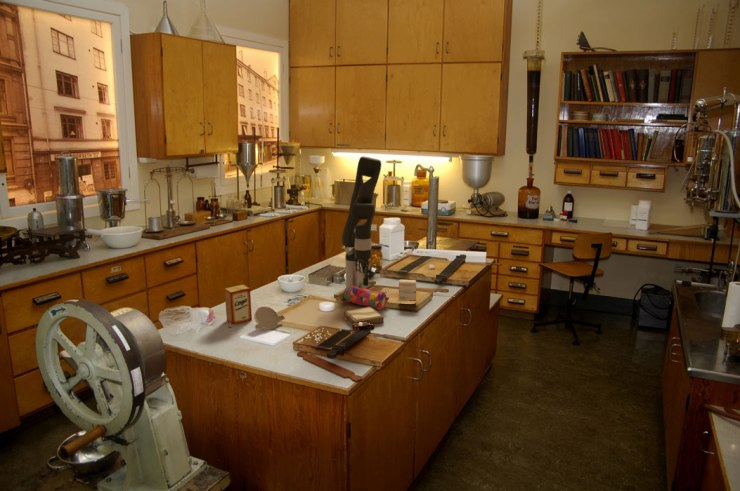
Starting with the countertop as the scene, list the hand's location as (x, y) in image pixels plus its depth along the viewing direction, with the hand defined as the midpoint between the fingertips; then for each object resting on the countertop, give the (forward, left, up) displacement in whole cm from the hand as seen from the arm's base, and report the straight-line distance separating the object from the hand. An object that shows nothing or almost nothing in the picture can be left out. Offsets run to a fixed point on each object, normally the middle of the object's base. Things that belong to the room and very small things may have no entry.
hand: (363, 283), depth 256 cm
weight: (0, 0, -2) cm, 2 cm away
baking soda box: (-24, -52, -18) cm, 60 cm away
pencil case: (-17, +9, -18) cm, 26 cm away
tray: (0, 0, -18) cm, 18 cm away
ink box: (-11, +29, -18) cm, 36 cm away
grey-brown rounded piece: (-12, -42, -18) cm, 47 cm away
